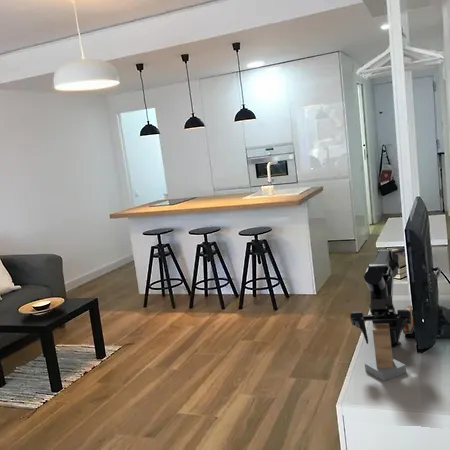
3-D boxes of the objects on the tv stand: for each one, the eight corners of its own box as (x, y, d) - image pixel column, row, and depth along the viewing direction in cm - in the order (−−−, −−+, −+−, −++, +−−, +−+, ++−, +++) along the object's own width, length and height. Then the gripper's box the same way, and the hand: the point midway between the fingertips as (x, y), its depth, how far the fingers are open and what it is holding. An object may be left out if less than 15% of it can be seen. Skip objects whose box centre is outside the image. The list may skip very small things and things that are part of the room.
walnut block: (377, 360, 166) (372, 323, 164) (392, 360, 164) (389, 323, 162) (376, 367, 161) (372, 329, 159) (393, 367, 160) (389, 329, 157)
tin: (410, 338, 184) (408, 317, 182) (401, 338, 185) (399, 316, 184) (419, 322, 196) (417, 302, 195) (410, 322, 198) (408, 301, 196)
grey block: (387, 362, 169) (386, 355, 169) (406, 372, 161) (405, 364, 160) (365, 370, 166) (364, 363, 165) (383, 381, 158) (383, 373, 157)
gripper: (347, 288, 165) (349, 334, 157) (407, 285, 159) (412, 332, 151) (351, 303, 174) (353, 346, 166) (408, 300, 168) (413, 345, 160)
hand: (382, 342), depth 160 cm, fingers open, 9 cm apart
